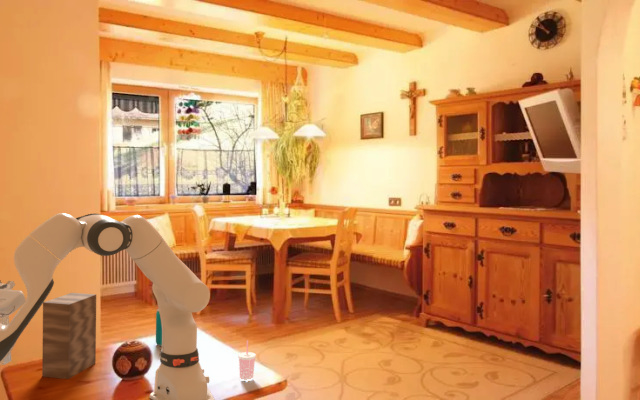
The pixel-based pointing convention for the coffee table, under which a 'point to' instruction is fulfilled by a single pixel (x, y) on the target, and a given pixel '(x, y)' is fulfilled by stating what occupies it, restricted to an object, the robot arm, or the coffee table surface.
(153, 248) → the robot arm
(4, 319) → the wooden bar
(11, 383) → the coffee table surface
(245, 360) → the beverage cup
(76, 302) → the wavy grain block
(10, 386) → the coffee table surface
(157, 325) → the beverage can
